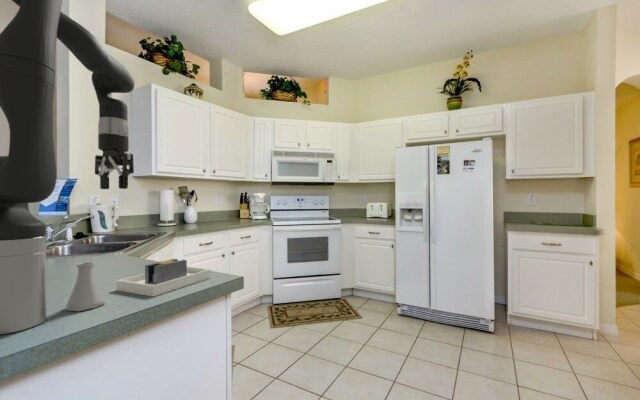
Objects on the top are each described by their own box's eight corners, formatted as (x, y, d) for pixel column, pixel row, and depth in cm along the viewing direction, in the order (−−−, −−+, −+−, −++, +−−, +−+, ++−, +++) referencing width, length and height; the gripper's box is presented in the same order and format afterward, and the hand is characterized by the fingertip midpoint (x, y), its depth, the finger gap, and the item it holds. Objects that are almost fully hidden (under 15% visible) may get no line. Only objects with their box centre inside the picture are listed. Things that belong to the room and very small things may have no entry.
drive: (157, 284, 83) (157, 266, 83) (145, 282, 85) (145, 264, 85) (186, 276, 92) (186, 259, 92) (174, 274, 94) (174, 258, 94)
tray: (153, 296, 76) (153, 282, 76) (116, 290, 82) (116, 276, 82) (210, 277, 95) (210, 266, 95) (177, 273, 100) (177, 262, 100)
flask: (58, 309, 68) (58, 265, 68) (94, 299, 74) (94, 259, 74) (75, 314, 64) (75, 268, 65) (111, 304, 71) (111, 262, 71)
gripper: (85, 134, 89) (85, 189, 89) (116, 130, 84) (116, 187, 84) (111, 139, 96) (111, 189, 96) (141, 135, 91) (141, 188, 91)
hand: (113, 188), depth 90 cm, fingers open, 8 cm apart
